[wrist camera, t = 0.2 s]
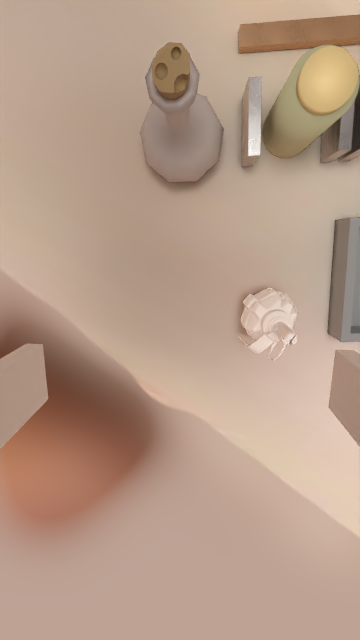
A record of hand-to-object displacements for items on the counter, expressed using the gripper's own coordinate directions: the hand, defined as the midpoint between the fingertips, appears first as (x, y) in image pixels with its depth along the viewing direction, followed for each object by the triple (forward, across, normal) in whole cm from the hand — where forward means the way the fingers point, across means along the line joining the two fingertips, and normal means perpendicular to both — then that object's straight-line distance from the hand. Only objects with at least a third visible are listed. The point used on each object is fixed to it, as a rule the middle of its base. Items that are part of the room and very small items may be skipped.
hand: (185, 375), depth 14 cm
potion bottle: (+28, -2, +17) cm, 33 cm away
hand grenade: (+28, +8, -3) cm, 29 cm away
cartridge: (+28, +10, +18) cm, 35 cm away
